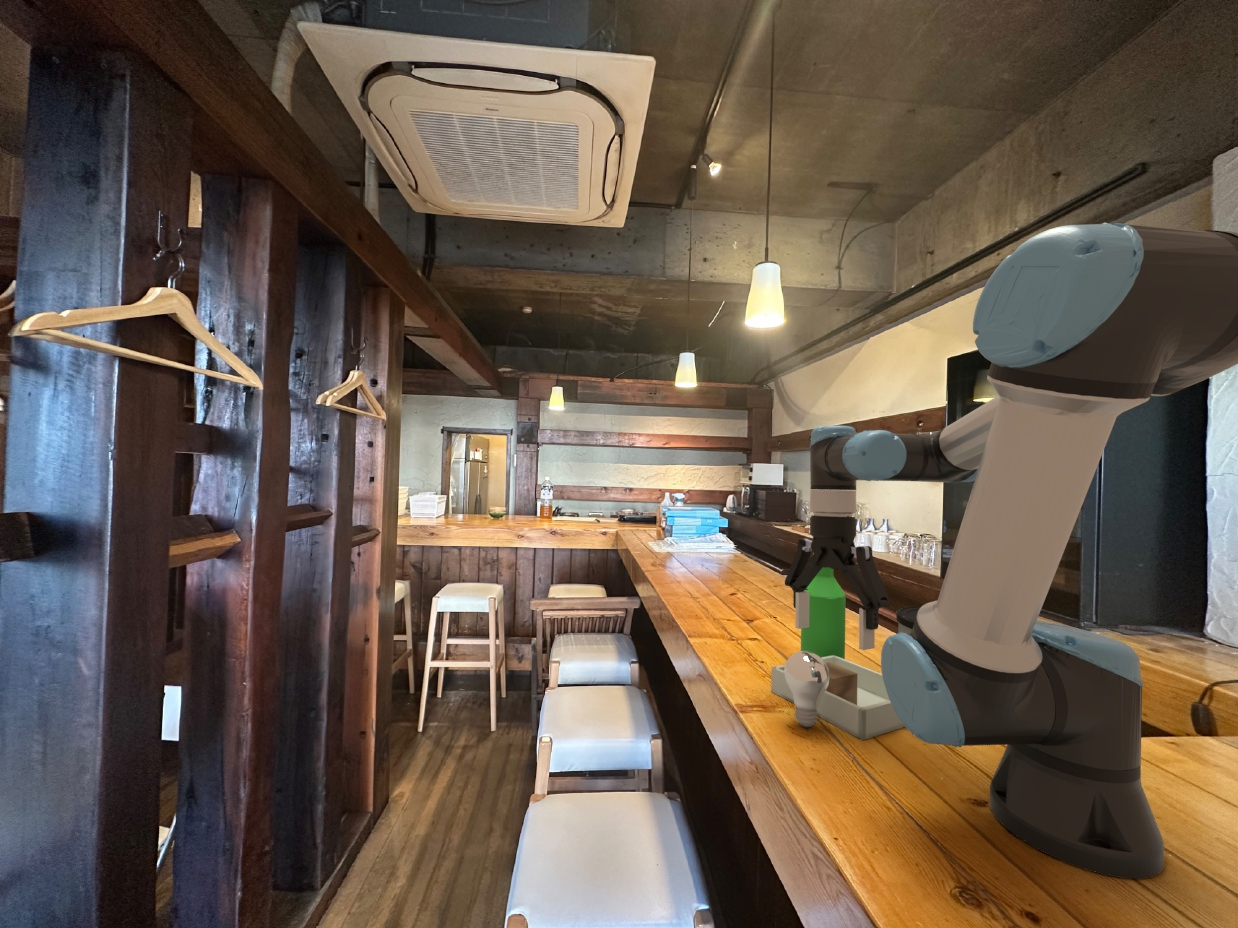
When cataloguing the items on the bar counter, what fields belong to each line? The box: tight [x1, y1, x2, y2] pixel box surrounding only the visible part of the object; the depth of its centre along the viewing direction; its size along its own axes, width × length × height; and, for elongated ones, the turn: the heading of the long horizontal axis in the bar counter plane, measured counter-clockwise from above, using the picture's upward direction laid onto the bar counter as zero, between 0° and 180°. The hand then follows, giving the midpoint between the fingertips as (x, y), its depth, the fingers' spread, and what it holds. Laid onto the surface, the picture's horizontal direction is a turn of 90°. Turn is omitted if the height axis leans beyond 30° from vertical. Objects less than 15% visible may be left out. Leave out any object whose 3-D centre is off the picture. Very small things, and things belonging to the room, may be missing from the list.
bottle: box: [800, 552, 847, 660], centre depth 111 cm, size 9×9×25 cm
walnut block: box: [826, 662, 858, 705], centre depth 91 cm, size 6×6×6 cm
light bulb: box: [784, 650, 830, 729], centre depth 84 cm, size 7×7×12 cm
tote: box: [770, 655, 906, 741], centre depth 92 cm, size 20×17×4 cm
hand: (832, 637), depth 90 cm, fingers open, 13 cm apart
